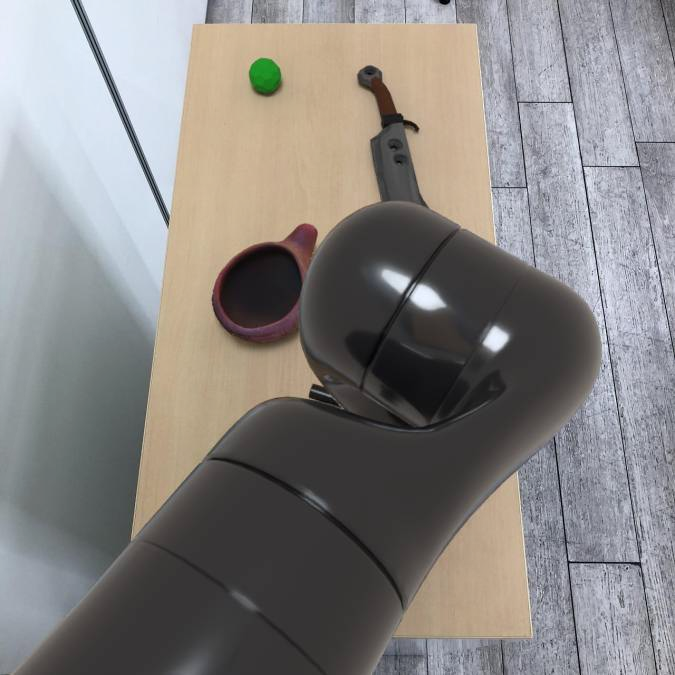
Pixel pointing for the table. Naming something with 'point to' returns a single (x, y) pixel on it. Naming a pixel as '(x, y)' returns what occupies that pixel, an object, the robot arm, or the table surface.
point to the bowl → (264, 287)
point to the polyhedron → (265, 75)
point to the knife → (391, 176)
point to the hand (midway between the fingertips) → (386, 471)
